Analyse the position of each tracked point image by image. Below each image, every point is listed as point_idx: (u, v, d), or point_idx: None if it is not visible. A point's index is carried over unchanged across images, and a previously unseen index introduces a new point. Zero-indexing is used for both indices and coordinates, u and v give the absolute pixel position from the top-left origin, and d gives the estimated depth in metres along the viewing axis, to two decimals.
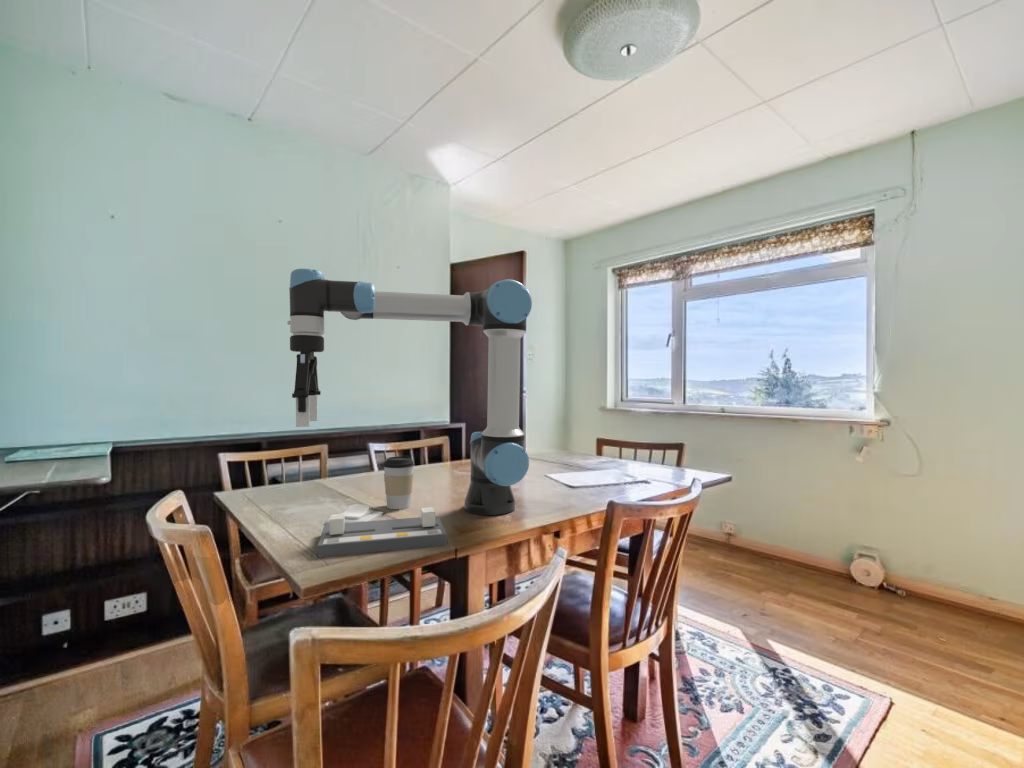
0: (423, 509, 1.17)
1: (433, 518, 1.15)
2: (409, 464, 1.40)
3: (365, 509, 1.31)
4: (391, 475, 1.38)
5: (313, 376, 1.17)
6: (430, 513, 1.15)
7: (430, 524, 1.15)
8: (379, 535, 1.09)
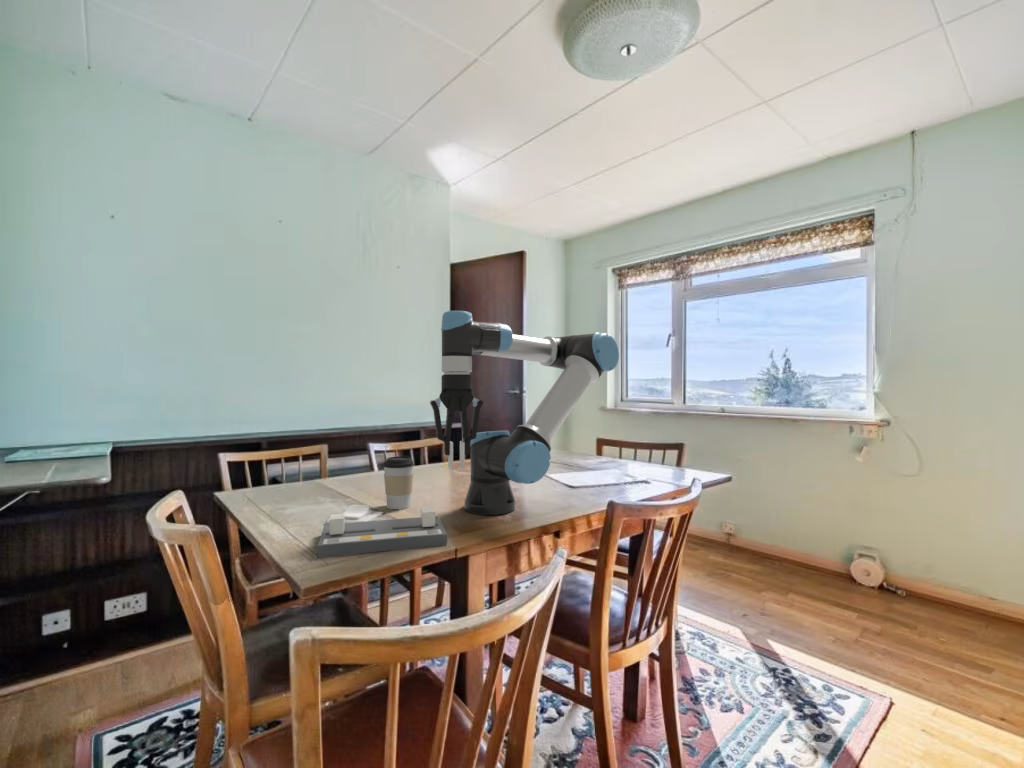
0: (423, 509, 1.17)
1: (433, 518, 1.15)
2: (409, 464, 1.40)
3: (365, 509, 1.31)
4: (391, 475, 1.38)
5: (461, 416, 1.17)
6: (430, 513, 1.15)
7: (430, 524, 1.15)
8: (379, 535, 1.09)
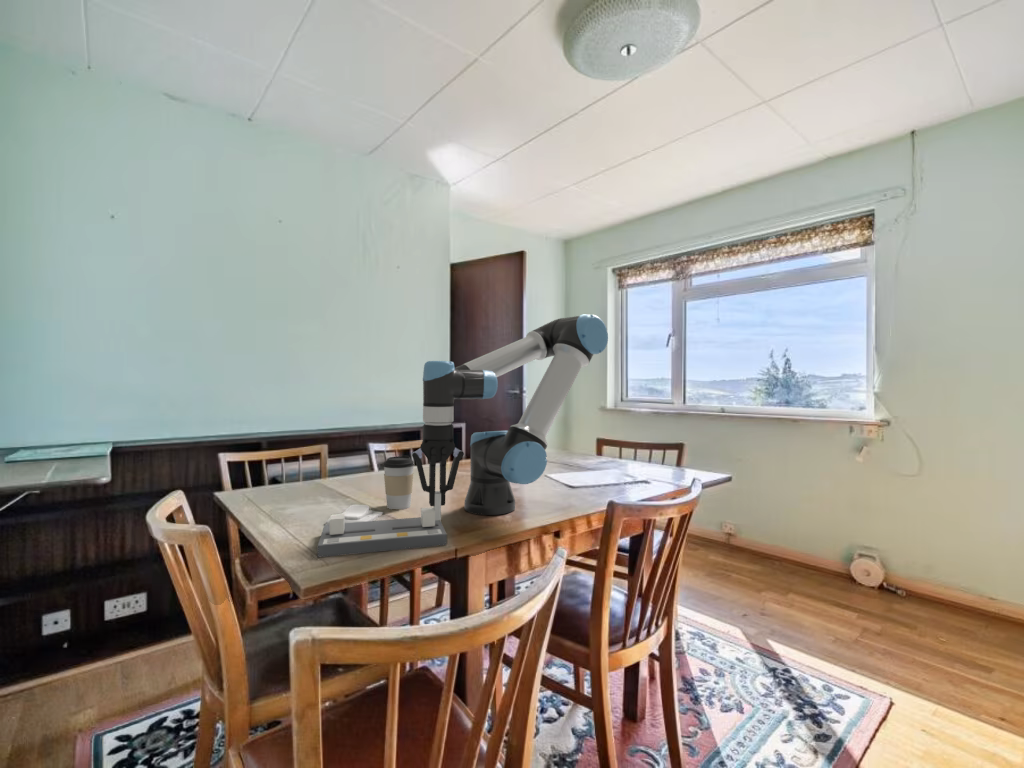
0: (423, 509, 1.17)
1: (433, 518, 1.15)
2: (409, 464, 1.40)
3: (365, 509, 1.31)
4: (391, 475, 1.38)
5: (440, 466, 1.16)
6: (430, 513, 1.15)
7: (430, 524, 1.15)
8: (379, 535, 1.09)
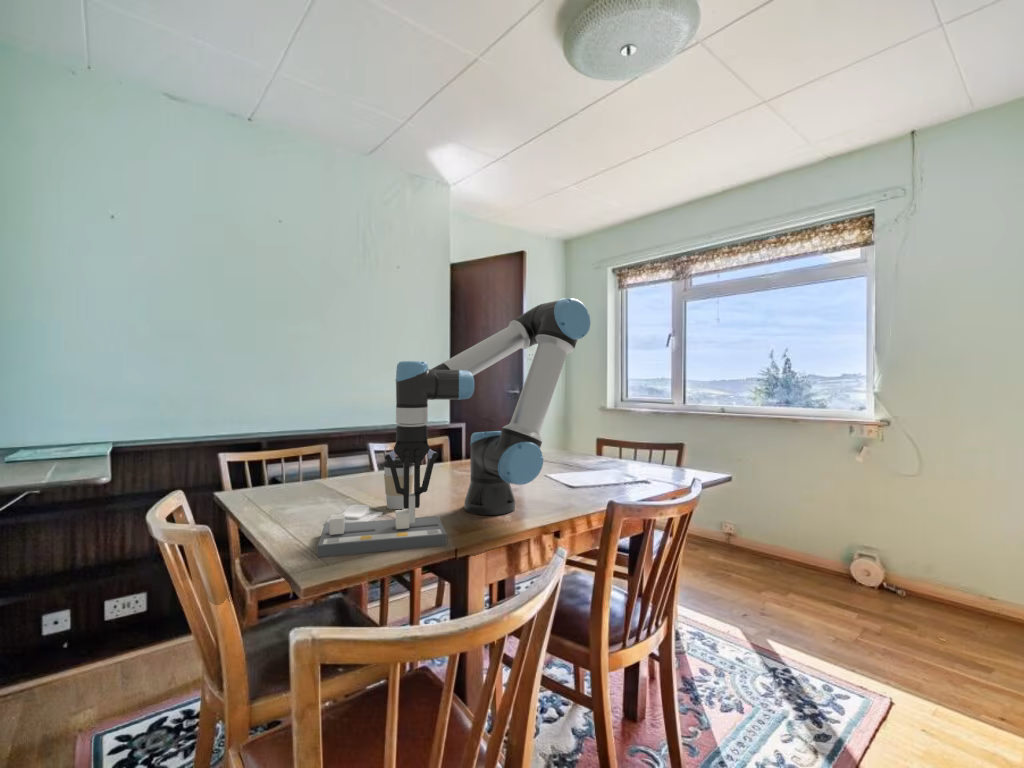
0: (397, 511, 1.15)
1: (407, 520, 1.13)
2: (409, 464, 1.40)
3: (365, 509, 1.31)
4: (391, 475, 1.38)
5: (414, 468, 1.14)
6: (404, 515, 1.13)
7: (404, 526, 1.13)
8: (379, 535, 1.09)
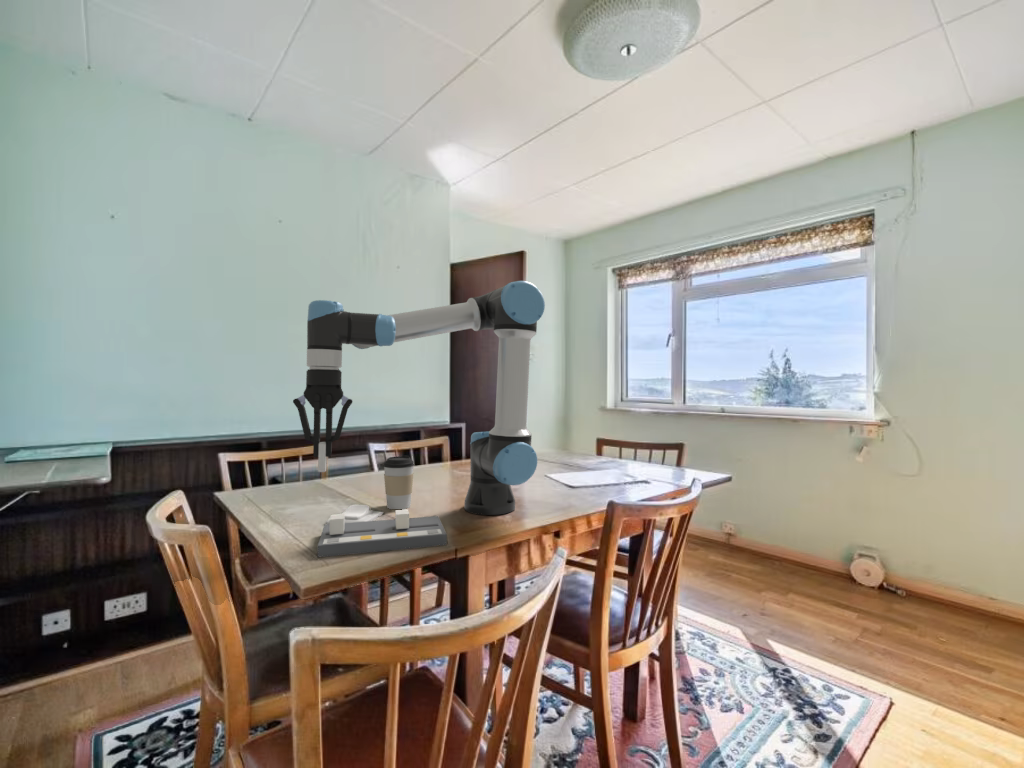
0: (397, 511, 1.15)
1: (407, 520, 1.13)
2: (409, 464, 1.40)
3: (365, 509, 1.31)
4: (391, 475, 1.38)
5: (326, 414, 1.08)
6: (404, 515, 1.13)
7: (404, 526, 1.13)
8: (379, 535, 1.09)
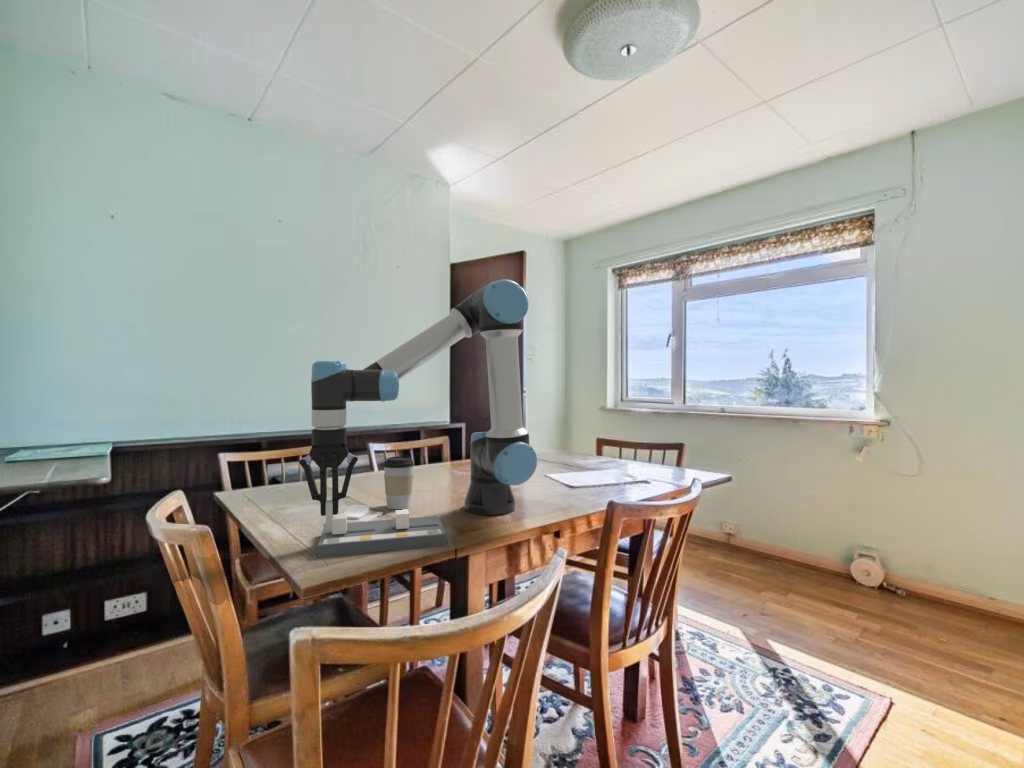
0: (397, 511, 1.15)
1: (407, 520, 1.13)
2: (409, 464, 1.40)
3: (365, 509, 1.31)
4: (391, 475, 1.38)
5: (332, 473, 1.09)
6: (404, 515, 1.13)
7: (404, 526, 1.13)
8: (379, 535, 1.09)
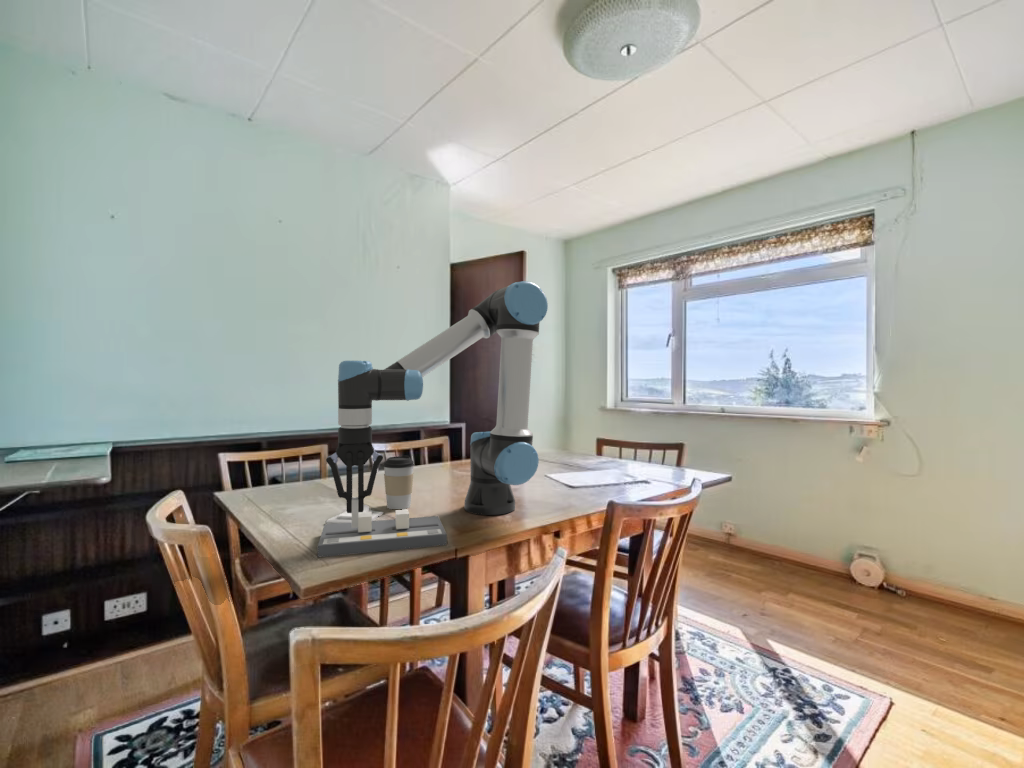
0: (397, 511, 1.15)
1: (407, 520, 1.13)
2: (409, 464, 1.40)
3: (365, 509, 1.31)
4: (391, 475, 1.38)
5: (358, 471, 1.11)
6: (404, 515, 1.13)
7: (404, 526, 1.13)
8: (379, 535, 1.09)
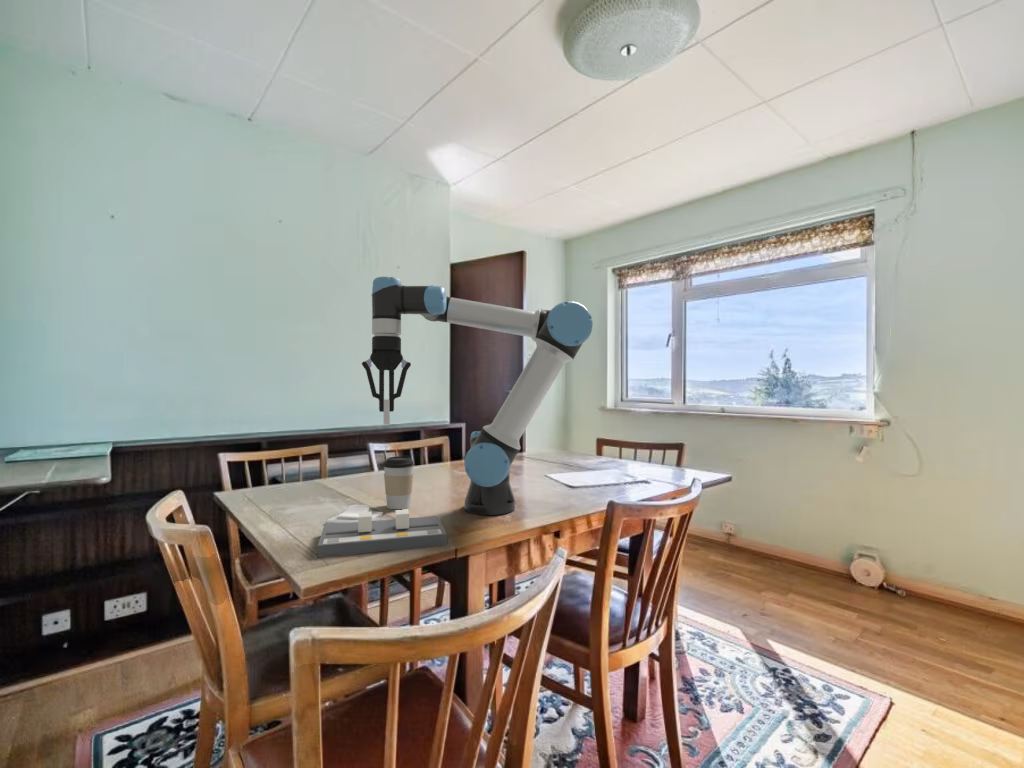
0: (397, 511, 1.15)
1: (407, 520, 1.13)
2: (409, 464, 1.40)
3: (365, 509, 1.31)
4: (391, 475, 1.38)
5: (389, 375, 1.26)
6: (404, 515, 1.13)
7: (404, 526, 1.13)
8: (379, 535, 1.09)
